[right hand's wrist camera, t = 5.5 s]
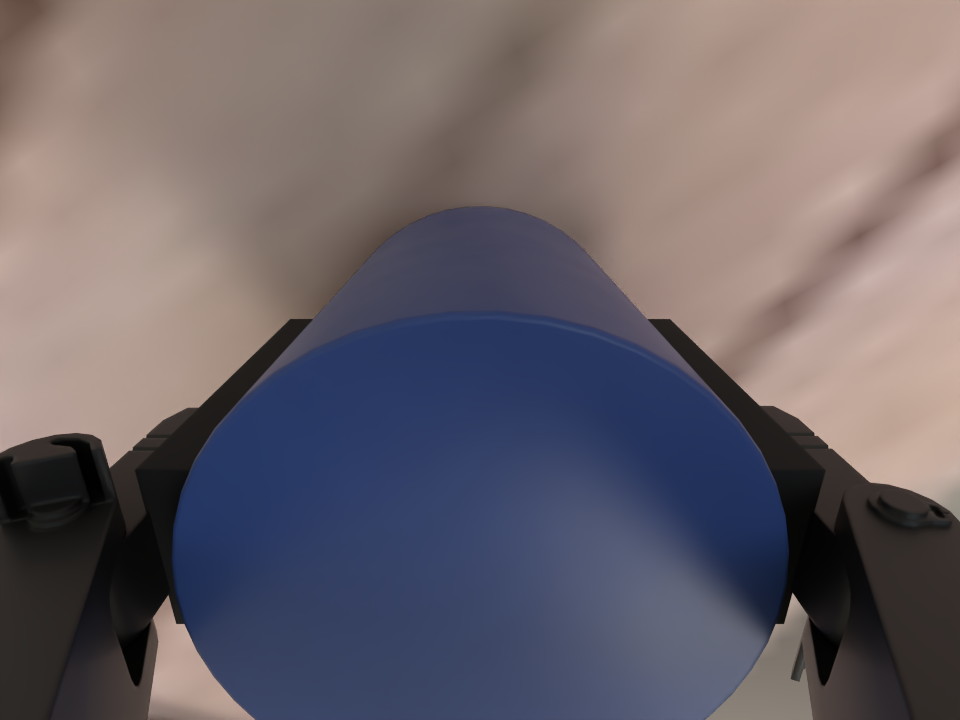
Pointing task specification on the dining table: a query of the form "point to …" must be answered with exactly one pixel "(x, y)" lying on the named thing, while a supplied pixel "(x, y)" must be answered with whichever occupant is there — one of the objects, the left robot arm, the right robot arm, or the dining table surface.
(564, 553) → the cylinder
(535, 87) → the dining table surface
